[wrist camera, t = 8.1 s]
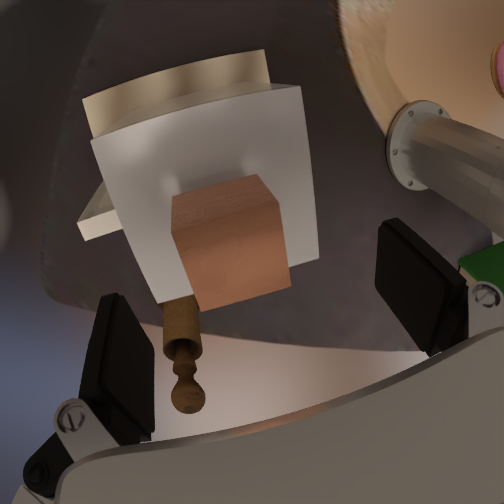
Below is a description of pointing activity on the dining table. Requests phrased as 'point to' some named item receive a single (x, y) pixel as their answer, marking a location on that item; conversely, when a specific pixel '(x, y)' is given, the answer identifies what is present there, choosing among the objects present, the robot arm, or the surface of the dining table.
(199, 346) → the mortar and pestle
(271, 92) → the press pot
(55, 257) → the dining table surface
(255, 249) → the brown square-faced block
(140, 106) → the birch board
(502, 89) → the doughnut
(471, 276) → the hardback book
